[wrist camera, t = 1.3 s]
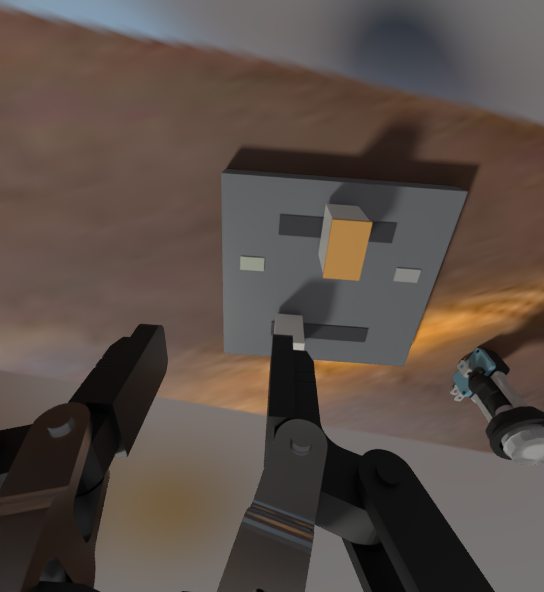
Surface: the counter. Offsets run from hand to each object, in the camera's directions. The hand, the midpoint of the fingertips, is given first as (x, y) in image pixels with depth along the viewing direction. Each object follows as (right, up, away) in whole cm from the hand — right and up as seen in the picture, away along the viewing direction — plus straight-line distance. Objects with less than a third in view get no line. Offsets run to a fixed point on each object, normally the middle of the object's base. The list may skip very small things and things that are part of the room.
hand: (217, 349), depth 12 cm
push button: (+23, -6, +23) cm, 33 cm away
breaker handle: (+7, +7, +13) cm, 16 cm away
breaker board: (+7, +4, +17) cm, 19 cm away
